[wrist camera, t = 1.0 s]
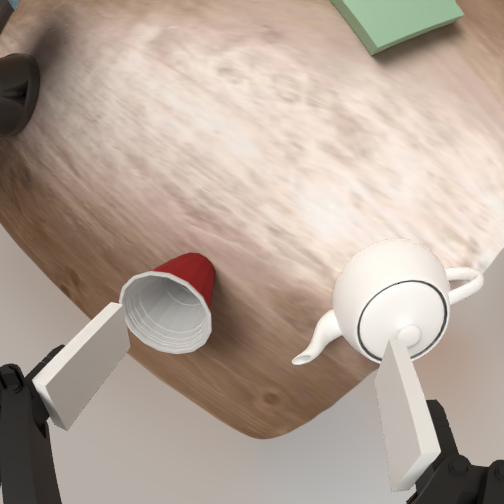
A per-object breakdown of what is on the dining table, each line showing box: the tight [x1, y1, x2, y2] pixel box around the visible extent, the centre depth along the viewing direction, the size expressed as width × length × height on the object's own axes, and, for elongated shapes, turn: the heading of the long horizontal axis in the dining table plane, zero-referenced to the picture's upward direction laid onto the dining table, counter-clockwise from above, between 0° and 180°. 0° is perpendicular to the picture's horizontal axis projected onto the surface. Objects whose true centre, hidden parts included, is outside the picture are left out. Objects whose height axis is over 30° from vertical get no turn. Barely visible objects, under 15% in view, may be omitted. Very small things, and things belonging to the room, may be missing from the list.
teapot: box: [292, 238, 484, 365], centre depth 34 cm, size 25×16×12 cm, turn 116°
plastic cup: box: [119, 253, 215, 354], centre depth 38 cm, size 11×11×12 cm
